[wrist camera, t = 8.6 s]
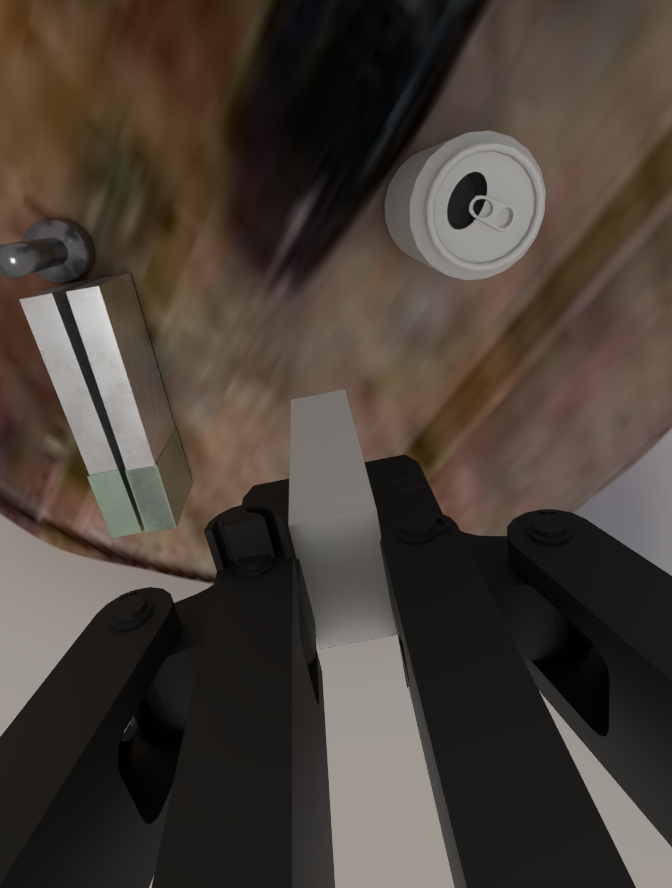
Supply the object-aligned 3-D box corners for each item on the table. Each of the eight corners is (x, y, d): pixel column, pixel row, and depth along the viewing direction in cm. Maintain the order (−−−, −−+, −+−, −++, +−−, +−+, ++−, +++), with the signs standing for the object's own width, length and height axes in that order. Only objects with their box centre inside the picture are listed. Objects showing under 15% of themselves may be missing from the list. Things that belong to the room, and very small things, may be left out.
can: (410, 127, 38) (456, 98, 27) (506, 175, 40) (587, 166, 29) (365, 237, 41) (391, 251, 30) (457, 278, 42) (514, 305, 31)
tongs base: (26, 224, 39) (-42, 230, 31) (83, 213, 39) (30, 216, 31) (126, 493, 47) (93, 550, 40) (173, 483, 47) (149, 539, 40)
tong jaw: (100, 277, 40) (64, 292, 34) (131, 272, 40) (100, 285, 34) (166, 487, 47) (146, 532, 41) (192, 482, 47) (176, 527, 41)
